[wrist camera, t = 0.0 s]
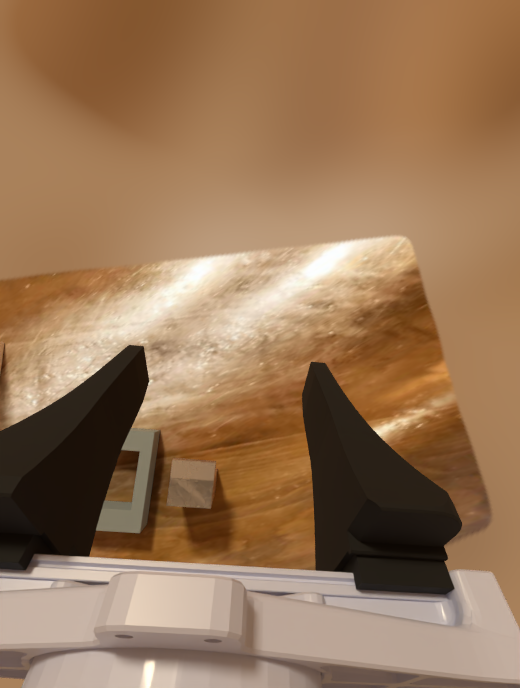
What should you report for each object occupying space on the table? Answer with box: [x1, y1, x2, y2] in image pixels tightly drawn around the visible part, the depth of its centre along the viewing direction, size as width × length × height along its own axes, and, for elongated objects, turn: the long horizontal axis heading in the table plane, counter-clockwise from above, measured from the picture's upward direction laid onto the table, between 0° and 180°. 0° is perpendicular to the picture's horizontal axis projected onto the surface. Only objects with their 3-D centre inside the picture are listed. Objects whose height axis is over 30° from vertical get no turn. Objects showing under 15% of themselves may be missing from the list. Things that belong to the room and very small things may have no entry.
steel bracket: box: [167, 458, 218, 509], centre depth 40 cm, size 5×5×7 cm
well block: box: [96, 428, 160, 533], centre depth 41 cm, size 12×10×3 cm
